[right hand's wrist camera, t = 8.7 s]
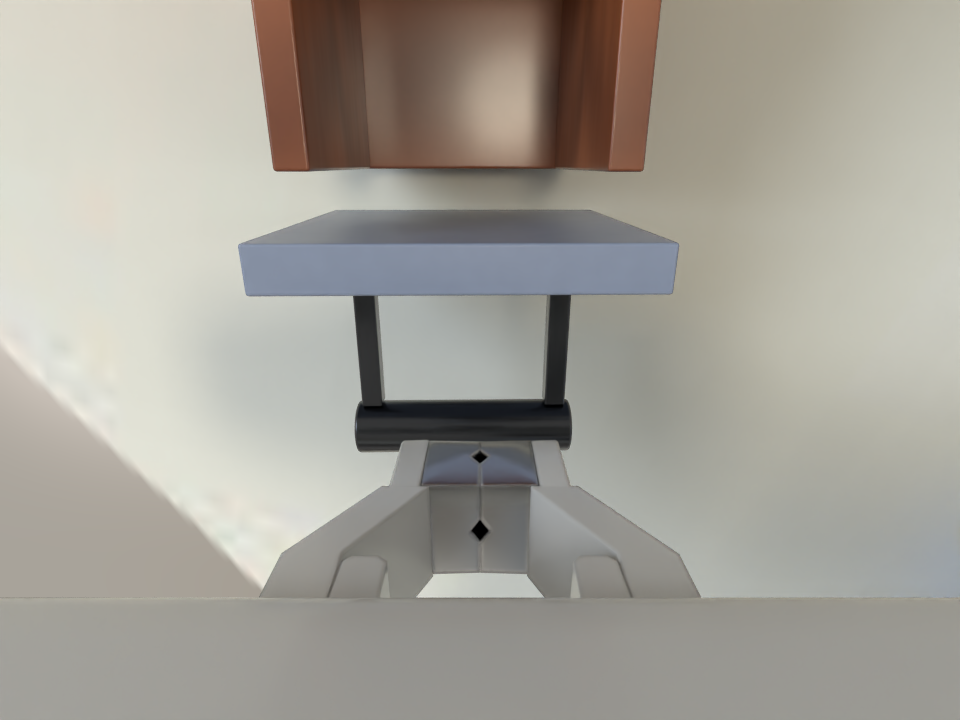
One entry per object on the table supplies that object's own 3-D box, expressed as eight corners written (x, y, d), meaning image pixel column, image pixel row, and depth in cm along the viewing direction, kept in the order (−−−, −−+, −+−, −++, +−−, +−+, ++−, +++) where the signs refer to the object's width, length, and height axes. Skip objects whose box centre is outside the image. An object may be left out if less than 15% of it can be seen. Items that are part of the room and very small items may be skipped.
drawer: (579, 372, 22) (646, 497, 14) (350, 374, 22) (278, 502, 14) (640, -452, 14) (900, -1380, 6) (271, -461, 14) (-37, -1435, 5)
